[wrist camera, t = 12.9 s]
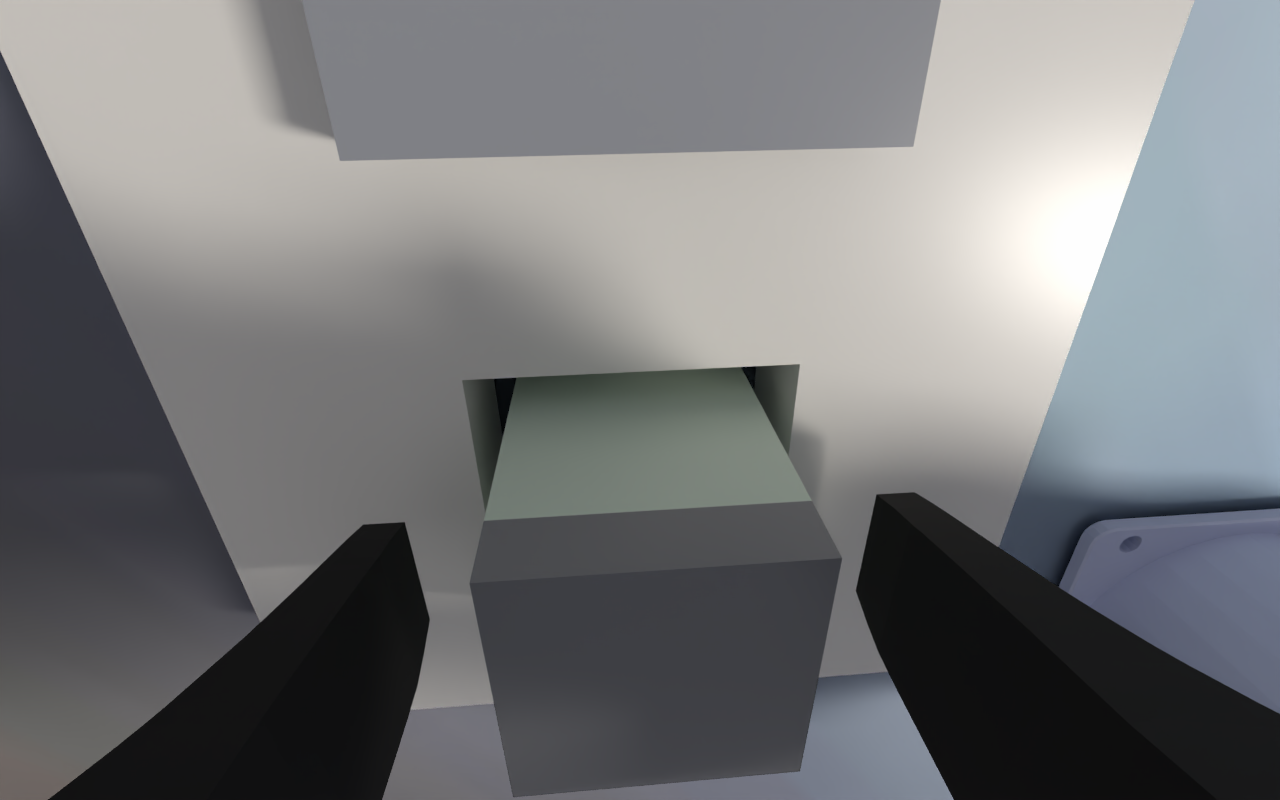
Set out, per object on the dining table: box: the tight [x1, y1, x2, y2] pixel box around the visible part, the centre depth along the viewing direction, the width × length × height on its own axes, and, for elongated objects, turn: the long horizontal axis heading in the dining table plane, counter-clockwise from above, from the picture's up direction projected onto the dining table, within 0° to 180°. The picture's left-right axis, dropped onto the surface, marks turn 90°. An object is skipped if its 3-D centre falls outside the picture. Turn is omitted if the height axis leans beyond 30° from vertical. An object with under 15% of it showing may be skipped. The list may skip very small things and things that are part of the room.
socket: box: [0, 0, 1194, 710], centre depth 10 cm, size 14×16×2 cm
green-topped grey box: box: [469, 367, 842, 797], centre depth 10 cm, size 4×4×6 cm
